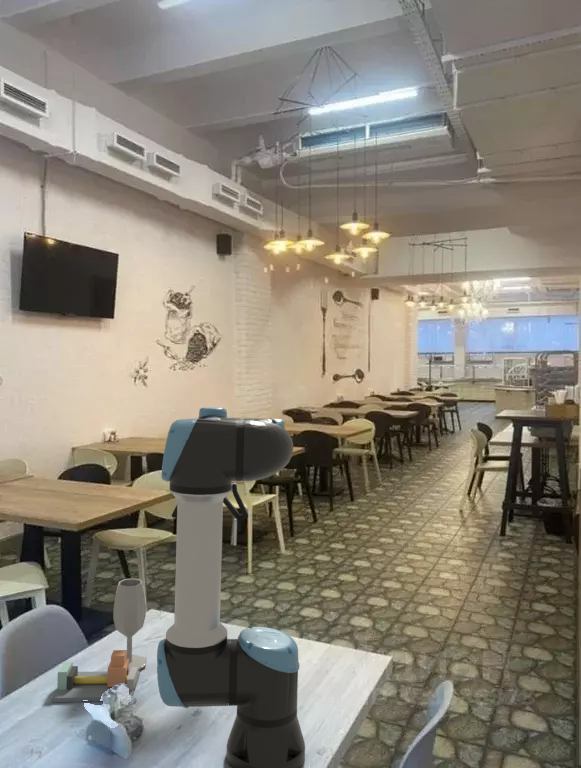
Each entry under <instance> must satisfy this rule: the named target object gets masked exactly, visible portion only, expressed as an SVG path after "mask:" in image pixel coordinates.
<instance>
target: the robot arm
mask: <svg viewBox="0 0 581 768" xmlns="http://www.w3.org/2000/svg"><path fill="white" fill-rule="evenodd" d="M285 427H286V426H285V421H284V420H283V419H282V418H281V419H280V418H273V417H272V418H271V417H269V418H264V417H263V418H258V417H257V418H256V417H255V418H254V417H252V418H251V417H249V418H248V417H247V418H246V417H228V411H227V408H224V407H219V406H218V407H215V406H211V407H210V406H204V407H200V408H199V412H198V418H197V417H196V418H185V419H184V418H183V419H182V418H181V419H177V420H175V421H173V422H172V423H171V424H170V426H169V430H168V433H167V437H166V441H165V447H164V450H163V452H164V453H163V457H162V465H161V475H160V476H161V480H162V481H165V482H167V483H168V482H169V492H170V493H171V494H172V495H173V496H174V497H175V499H176V501H177V504H176V505H175V507H174V510H173V511H172V513H171V517H172V518H173V519H174V518H175V519H176V541H175V542H176V543H175V544H176V547H175V550H176V551H175V584H174V585H175V586H174V589H175V590H174V623H173V624H172V625H171V626H170V627H169V628H168V629H166V632H165V638H163V639H162V640H161V639H160V641H159V642H158V643H157V644H158V645H157V651H156V652H157V653H156V661H157V665H156V675H157V677H156V678H157V683H158V684H157V685H158V692H159V696H160V698H161V701H162V702H163V704H164V705H165V706H167V707H168V706H169V707H176V708H177V707H182V708H183V709H189V708H193V707H194V708H196V707H197V708H198V707H200V708H201V707H230V706H231V707H232V706H233V707H236V715H235V718H234V722H233V724H232V726H231V730H230V733H229V736H228V739H227V742H226V758H225V759H226V761H227V763H228V766H229V767H230V766H231V767H232V768H301V767H302V766H303V765H304V764H305V763H304V762H305V759H306V758H305V757H306V744H305V743H306V742H305V740H304V735H303V731H302V729H301V728H302V727H301V726H300V725H301V724H300V722H299V719H298V685H299V670H300V663H299V648H298V644H297V643H296V641H295V640H294V639H293V637H292V636H290V635H288V634H287V633H286V632H283V631H282V630H280V629H279V630H278V629H275V628H271V627H265V626H252V627H250V628H244V629H243V630H241V631H240V633H239V634H238V637H237V638H228V629H227V627H226V626H225V625H223V624H222V623H221V622H220V621H221V595H222V594H221V590H222V589H221V588H222V587H221V586H222V557H223V556H222V555H223V552H222V551H223V519H224V518H223V516H224V513H223V512H224V505H225V507H226V508H227V509H228V510H229V512H230V513H231V514H232V516H233V517H234V521H233V546H237V539H238V538H237V537H238V536H237V535H238V533H241V531H242V521H243V520H244V519H248V518H249V513H248V511H247V509H246V506H245V504H244V502H243V500H242V498H241V495H240V493H239V492H238V486H237V482H252V481H253V482H254V481H255V482H256V481H258V480H264V479H266V478H268V477H271V476H273V475H275V474H276V473H278V472H281V470H282V469H284V468H285V467H286V466H287V465H288V464H289V463H290V461H291V459H292V456H293V453H294V443H293V439H292V437H291V435H290V433H289V432H288V431H287V430H286V429H285ZM230 493H232V494H233V498H234V500H235V501H236V503H237V505H238V508H239V510H240V512H241V513H240V512H239V511H238V509H237V508H236V507H235V506H234V504H232V502H231V501H230V500H229V499H228V497H227V496H228V495H229V494H230ZM231 767H230V768H231Z"/></svg>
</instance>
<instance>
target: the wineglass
mask: <svg viewBox="0 0 581 768" xmlns="http://www.w3.org/2000/svg"><path fill="white" fill-rule="evenodd" d="M145 591H146V590H145V587H144V582H143V580H142V579H139V578H135V577H134V578H133V577H132V578H124V579H122V580H120V581H118V584H117V587H116V591H115V596H114V603H113V613H112V614H113V618H112V619H113V623H114V627H115V630H116V631H118V632H119V633H120V634H122V635H123V636H125V638H126V650H127V657H126V659H129V671H130V669H131V667H138V671H141V670H143V669H144V668H145V667H146V666H147V657H145V656H142V655H139V654H133V637H134V635H137V633H138V632H139V631H140V630H142V628H144V624H145V619H146V615H147V607H146V606H147V600H146V592H145Z"/></svg>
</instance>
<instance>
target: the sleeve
mask: <svg viewBox="0 0 581 768" xmlns="http://www.w3.org/2000/svg"><path fill="white" fill-rule="evenodd" d="M126 657H127V649H123V650H122V649H120V650H119V649H115V650H113V651H112V653H111V655H110V662H109V664H108V666H107V671H108V679H107V687H113V686H114V685H116V684H119V683H125V684H126V676H128V674H129V659H126Z"/></svg>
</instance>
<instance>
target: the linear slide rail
mask: <svg viewBox="0 0 581 768" xmlns="http://www.w3.org/2000/svg"><path fill="white" fill-rule="evenodd" d="M73 664H74V663H73V661H63V663H62V664H61V666H60V668H59V670H58V671H57V688H56V689H57V690H56V691H55V693H54V695H53V697H52V703H82V702H81V701H83V700H88V701H92V702H93V703H95V702H98V701H100V699H101V696H102V694H103V693H104V692H105V691H107V690H108V689H110V688H112V687H107V679H108V670H107V671H104V670H103V671H79V665H78V666H77V665H73ZM140 672H141V670H139V671H138V667H131V669H130V671H129V674H128V676H126V684H127V686H128V688H129V695H131V696H133V697H134V693H135V691H136V688H137V685H138V681H139V678H140V674H141V673H140Z"/></svg>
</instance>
